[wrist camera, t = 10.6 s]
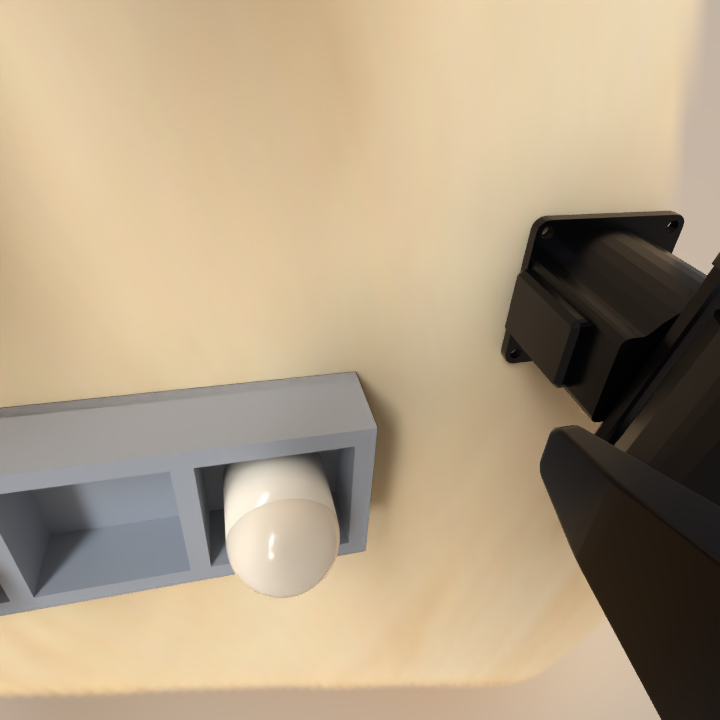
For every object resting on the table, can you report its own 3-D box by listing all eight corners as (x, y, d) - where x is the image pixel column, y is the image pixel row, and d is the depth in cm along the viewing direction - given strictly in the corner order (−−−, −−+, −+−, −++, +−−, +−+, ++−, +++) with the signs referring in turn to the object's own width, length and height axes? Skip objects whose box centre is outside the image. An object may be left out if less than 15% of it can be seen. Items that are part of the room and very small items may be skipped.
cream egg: (319, 414, 23) (353, 539, 18) (318, 482, 25) (348, 609, 20) (216, 426, 22) (223, 562, 17) (226, 496, 24) (233, 632, 19)
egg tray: (355, 371, 23) (377, 428, 20) (348, 491, 27) (365, 550, 24) (-245, 433, 18) (-323, 516, 15) (-139, 565, 22) (-186, 649, 20)
